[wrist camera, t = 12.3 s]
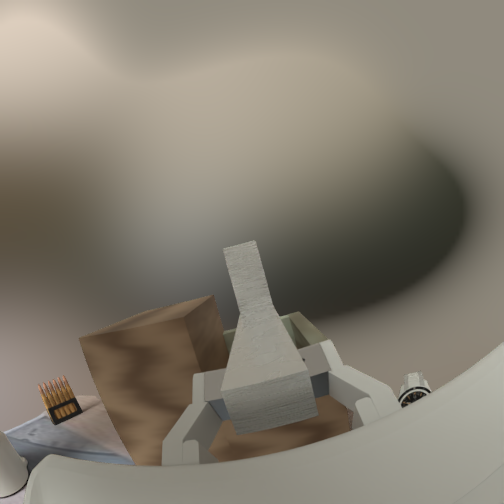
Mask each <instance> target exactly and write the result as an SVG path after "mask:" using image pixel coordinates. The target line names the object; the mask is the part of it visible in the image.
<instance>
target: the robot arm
mask: <svg viewBox="0 0 504 504" xmlns="http://www.w3.org/2000/svg"><path fill="white" fill-rule="evenodd" d="M297 351H298V352H299V354H300V356H301V358H302V359H303V361H304V363H305V365H306V367H307V369H308V372H309V376H310V380H311V384H312V388H313V393H314V397H315V398H319V397H322V396H325V395H329V394H330V396H331V397H333V398H334V399H336V400H337V401H338V402H340V403H341V404H343V405H344V406H346V407H347V408H348V409H350V410H351V411H353V412H354V415H353V421H352V427H351V428H352V430H351V431H348V432H346V433H343V434H340V435H337V436H334V437H331V438H328V439H325V440H322V441H319V442H316V443H312V444H309V445H305V446H302V447H298V448H294V449H290V450H286V451H282V452H278V453H273V454H268V455H263V456H258V457H253V458H247V459H241V460H234V461H227V462H218V459H217V458H215V457H214V456H213V455H212V454H211V453H210V452H209V451H208V450H209V448H210V446H211V444H212V442H213V440H214V438H215V436H216V434H217V432H218V430H219V428H220V426H221V424H222V421H225V420H230V419H231V418H230V416H229V413H228V410H227V408H226V405H225V402H224V399H223V397H222V394H221V387H222V383H223V379H224V375H225V372H226V368H224V369H219V370H213V371H208V372H202V373H196V374H194V375H193V390H192V404H189V405H188V407H187V408H186V410H185V411H184V413H183V414H182V415H181V417H180V418H179V420H178V421H177V422H176V424H175V425H174V426H173V428H172V429H171V431H170V432H169V433H168V435H167V436H166V437H165V439H164V440H163V445H162V466H141V465H123V464H111V463H102V462H94V461H87V460H81V459H75V458H70V457H65V456H60V455H55V454H49V455H47V456H46V457H45V458H44V459H43V460H42V461H41V462H40V463H39V464H38V465H37V466H36V467H35V468H34V469H33V470H32V472H31V474H30V477H29V480H28V483H27V487H26V491H25V496H24V502H23V504H504V342H502V343H501V344H500V345H499V346H498V347H497V348H495V349H494V350H493V351H491V352H490V353H489V354H488V355H487V356H485V357H484V358H482V359H481V360H480V361H478V362H477V363H476V364H474V365H473V366H472V367H470V368H469V369H467V370H466V371H464V372H463V373H462V374H460V375H459V376H457V377H456V378H454V379H452V380H451V381H449V382H448V383H446V384H445V385H443V386H441V387H440V388H438V389H436V390H435V391H433V392H431V393H430V394H428V395H426V396H424V397H423V398H421V399H419V400H417V401H415V402H413V403H411V404H409V405H408V406H406V407H404V408H402V407H401V405H400V403H399V402H398V400H397V398H396V396H395V395H394V393H393V391H392V389H391V387H390V386H388V385H386V384H384V383H382V382H380V381H378V380H376V379H374V378H372V377H370V376H368V375H366V374H364V373H362V372H360V371H359V370H357V369H355V368H353V367H351V366H348V365H346V366H344V364H343V362H342V360H341V358H340V356H339V354H338V352H337V350H336V348H335V346H334V344H333V342H332V340H330V339H329V340H326V341H323V342H320V343H316V344H313V345H310V346H307V347H304V348H301V349H298V350H297ZM27 463H28V461H27V460H26V459H25V458H24V457H20V456H19V455H18V454H17V452H16V451H15V449H14V448H13V446H12V445H11V443H10V442H9V440H8V438H7V437H6V435H5V434H4V433H3V432H1V431H0V497H5V496H8V495H11V494H13V493H15V492H17V491H18V490H19V489H21V488H22V487H23V485H24V484H25V483H26V481H27V479H28V471H27Z"/></svg>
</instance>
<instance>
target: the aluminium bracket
mask: <svg viewBox="0 0 504 504" xmlns="http://www.w3.org/2000/svg"><path fill="white" fill-rule="evenodd" d="M223 251H224V255H225V259H226V263H227V266H228V270H229V274H230V278H231V281H232V285H233V288H234V292H235V296H236V300H237V303H238V307H239V310H240V317H239V321H238V325H237V329H236V333H235V337H234V341H233V345H232V348H231V352H230V356H229V360H228V364H227V368H226V372H225V375H224V379H223V383H222V387H221V394H222V397H223V399H224V402H225V405H226V408H227V410H228V413H229V416H230V418H231V421H232V423H233V426H234V429H235V431H236V434H237V435H242V434H247V433H252V432H257V431H262V430H266V429H271V428H275V427H279V426H283V425H287V424H291V423H295V422H298V421H302V420H305V419H309V418H312V417H315V416H319V414H318V410H317V406H316V401H315V397H314V393H313V388H312V384H311V380H310V376H309V372H308V369H307V367H306V365H305V363H304V361H303V359H302V358H301V356H300V354H299V352H298V351H297V348H296V347H295V345H294V343H293V341H292V339H291V337H290V336H289V334H288V332H287V330H286V328H285V326H284V325H283V323H282V321H281V319H280V317H279V315H278V314H277V312H276V310H275V308H274V306H273V304H272V300H271V297H270V293H269V289H268V286H267V282H266V278H265V274H264V270H263V267H262V263H261V259H260V256H259V252H258V248H257V245H256V241H251V242H247V243H243V244H240V245H236V246H232V247H229V248H225V249H223Z"/></svg>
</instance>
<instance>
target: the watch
mask: <svg viewBox="0 0 504 504" xmlns="http://www.w3.org/2000/svg"><path fill="white" fill-rule="evenodd" d="M431 392H432V391H431V389H430V387H429V385H428V382H427V380H423V375H422V373H421V371H418V372H415V373H410V374H406V375H404V385H401V389H400V393H399V396H398V399H397V400H398V402H399V403H400V405H401V407H402V408H404V407H406V406H408V405H409V404H411V403H413V402H415V401H417V400H419V399H421V398H423V397H424V396H426V395H428V394H430V393H431Z"/></svg>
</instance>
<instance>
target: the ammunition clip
mask: <svg viewBox="0 0 504 504" xmlns="http://www.w3.org/2000/svg"><path fill="white" fill-rule="evenodd" d="M63 381H64V384H65V387H66V389H65V387H64V386H63V383H62V381H61V380H60V378H59V377H58V382H59V385H60V388H61V391H60V389H59V387H58V385H57V383H56V381H55V380H54V379H53V383H54V387H55V390H56V393H57V394H56V393H55V390H54V389H53V386H52V384H51V383H50V382H49V381H48V384H49V388H50V391H51V394H52V396H51V394H50V393H49V390H48V388H47V386H46V384H45V383H43V386H44V389H45V392H46V395H47V397H46V396H45V394H44V392H43V390H42V388H41V386H40V385H38V387H39V391H40V394H41V396H42V400H43V402H44V404H45V407H46V409H47V412H48V414H49V416H50V418H51V421H52V423H53V424H54V425H57V424H59V423H61V422H64V421H66V420H68V419H70V418H72V417H74V416H76V415H79V414H81V413H83V411H82V410H81V408H80V406H79V404H78V402H77V400H76V398H75V396H74V394H73V392H72V390H71V388H70V386H69V384H68V382H67V380H66V378H65V376H64V375H63ZM66 390H67V391H66ZM61 392H62V393H61ZM62 394H63V395H62ZM68 395H69V396H68ZM52 397H53V398H52ZM69 397H70V398H69ZM47 398H48V399H47ZM53 399H54V400H53ZM59 400H60V401H59ZM50 405H51V406H50ZM73 406H74V407H73ZM58 410H59V411H58ZM59 412H60V413H59Z"/></svg>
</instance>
